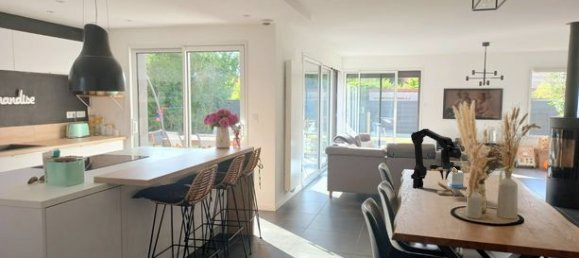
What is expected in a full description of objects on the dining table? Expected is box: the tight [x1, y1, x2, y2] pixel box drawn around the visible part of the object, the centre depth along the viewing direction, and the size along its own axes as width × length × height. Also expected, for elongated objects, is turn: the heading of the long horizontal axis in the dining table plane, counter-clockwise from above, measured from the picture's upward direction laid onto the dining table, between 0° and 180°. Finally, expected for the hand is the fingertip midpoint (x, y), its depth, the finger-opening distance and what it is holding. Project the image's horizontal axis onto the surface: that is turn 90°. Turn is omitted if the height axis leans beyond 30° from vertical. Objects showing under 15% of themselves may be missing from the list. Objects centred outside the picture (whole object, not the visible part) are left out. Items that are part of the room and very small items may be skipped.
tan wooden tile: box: [449, 187, 464, 198], centre depth 273 cm, size 6×18×1 cm, turn 168°
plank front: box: [436, 189, 454, 197], centre depth 270 cm, size 9×7×1 cm
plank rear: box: [436, 181, 451, 192], centre depth 280 cm, size 9×7×1 cm
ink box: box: [447, 170, 465, 189], centre depth 292 cm, size 9×8×13 cm
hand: (444, 179), depth 268 cm, fingers closed
